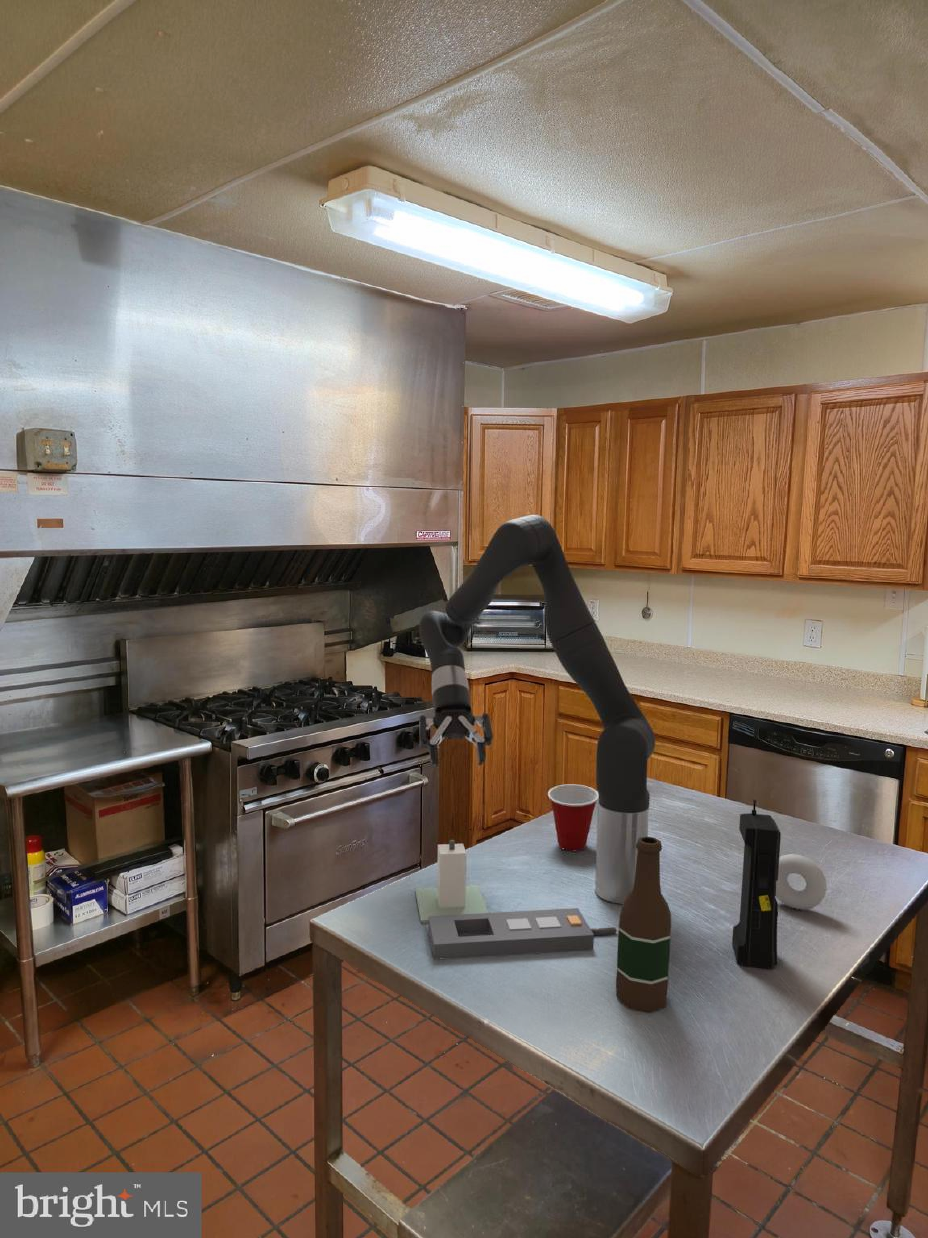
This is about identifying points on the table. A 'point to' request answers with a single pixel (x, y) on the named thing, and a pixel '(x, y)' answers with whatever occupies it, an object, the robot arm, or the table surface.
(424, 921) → the mat
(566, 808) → the plastic cup
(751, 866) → the portable radio
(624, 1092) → the table surface
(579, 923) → the power strip
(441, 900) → the block
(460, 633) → the robot arm
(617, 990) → the beer bottle
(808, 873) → the donut
